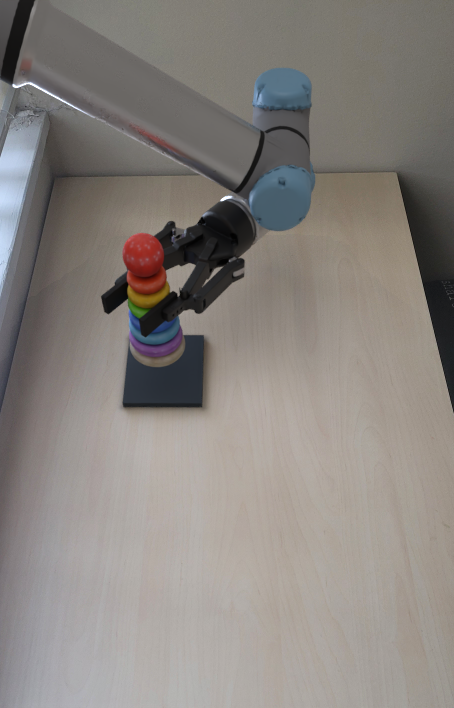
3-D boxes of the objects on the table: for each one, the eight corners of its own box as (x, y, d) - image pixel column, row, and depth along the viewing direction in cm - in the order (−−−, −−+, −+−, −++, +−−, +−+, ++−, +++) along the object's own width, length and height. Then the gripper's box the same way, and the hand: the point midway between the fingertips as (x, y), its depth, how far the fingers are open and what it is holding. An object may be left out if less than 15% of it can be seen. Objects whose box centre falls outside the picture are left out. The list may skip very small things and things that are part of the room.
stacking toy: (181, 325, 94) (173, 213, 78) (189, 366, 91) (182, 258, 74) (128, 331, 94) (108, 220, 77) (133, 373, 90) (114, 265, 74)
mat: (123, 407, 97) (122, 403, 96) (130, 339, 104) (129, 334, 103) (202, 407, 97) (201, 403, 96) (204, 339, 104) (203, 334, 103)
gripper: (286, 274, 91) (181, 371, 82) (186, 221, 97) (76, 306, 88) (291, 228, 84) (177, 328, 75) (183, 174, 90) (64, 261, 81)
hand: (123, 316), depth 82 cm, fingers closed on stacking toy, 6 cm apart
